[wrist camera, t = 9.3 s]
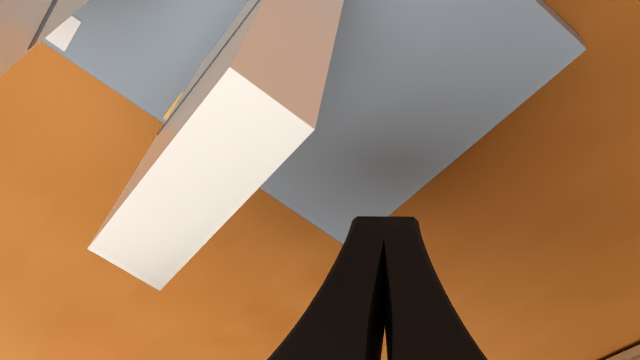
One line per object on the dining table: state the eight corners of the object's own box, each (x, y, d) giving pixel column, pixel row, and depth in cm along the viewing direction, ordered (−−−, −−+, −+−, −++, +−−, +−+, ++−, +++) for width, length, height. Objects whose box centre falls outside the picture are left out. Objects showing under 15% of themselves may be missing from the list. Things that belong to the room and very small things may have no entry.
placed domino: (351, -30, 16) (315, 130, 9) (244, 97, 18) (160, 291, 12) (301, -73, 15) (228, 66, 9) (199, 64, 18) (86, 248, 12)
